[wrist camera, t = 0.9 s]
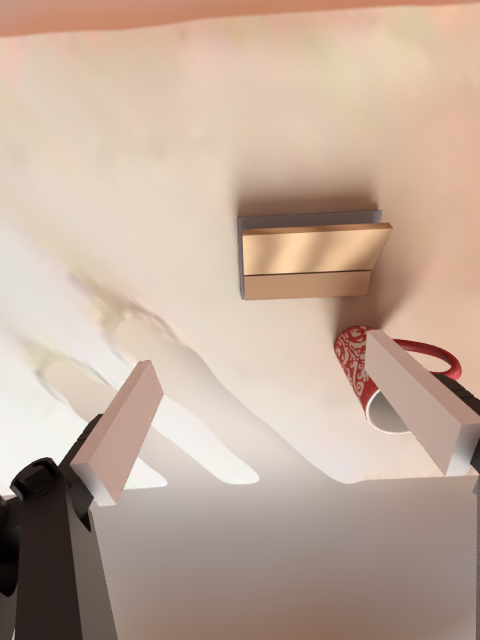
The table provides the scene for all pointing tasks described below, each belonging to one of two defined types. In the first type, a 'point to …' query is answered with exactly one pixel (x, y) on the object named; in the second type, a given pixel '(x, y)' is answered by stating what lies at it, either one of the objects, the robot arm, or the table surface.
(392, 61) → the table surface
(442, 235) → the table surface
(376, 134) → the table surface
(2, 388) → the table surface
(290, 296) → the floor panel
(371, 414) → the mug
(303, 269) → the plank
